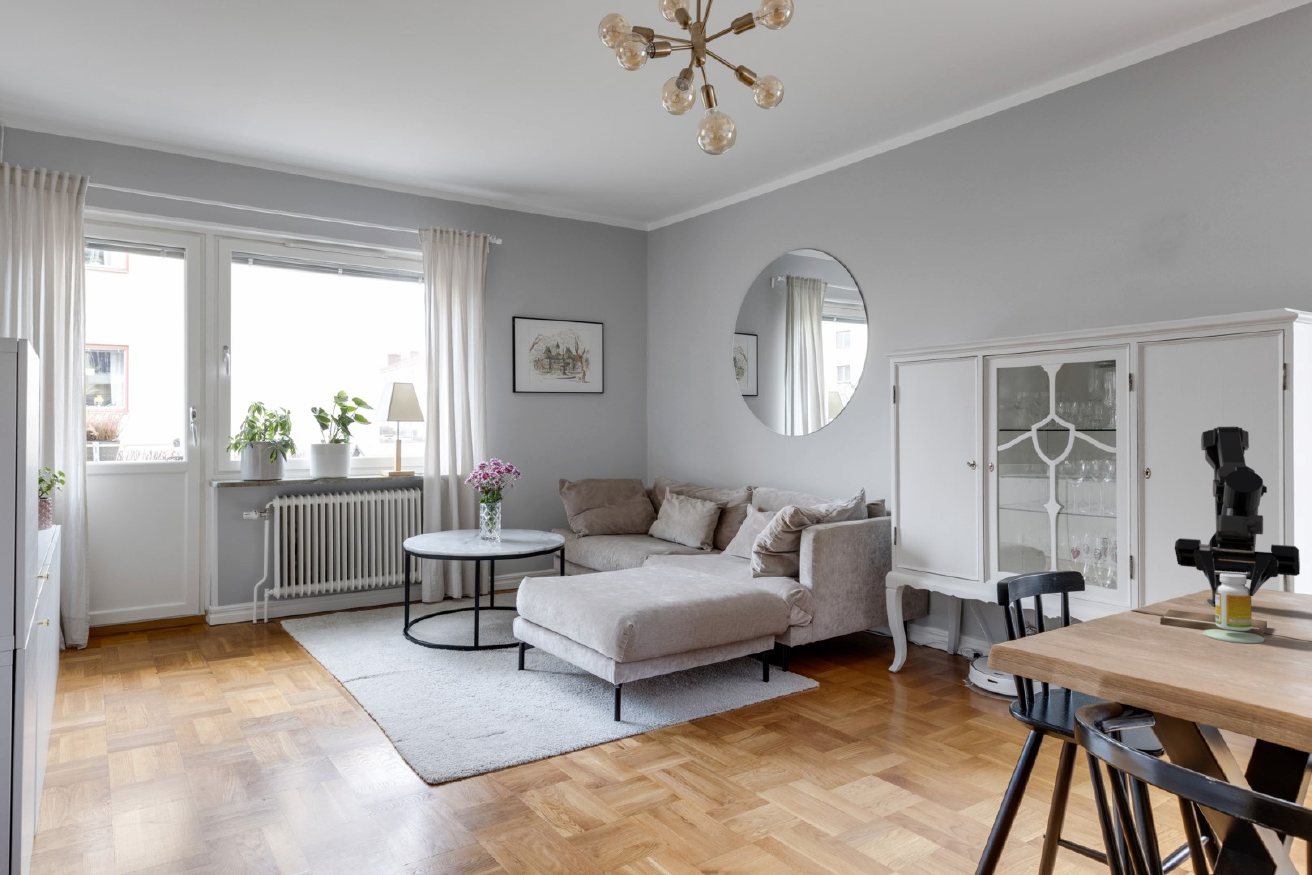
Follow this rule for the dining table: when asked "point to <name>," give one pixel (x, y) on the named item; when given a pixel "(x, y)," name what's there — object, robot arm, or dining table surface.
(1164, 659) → the dining table surface
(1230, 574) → the supplement bottle
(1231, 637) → the end pad
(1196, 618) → the walnut board
